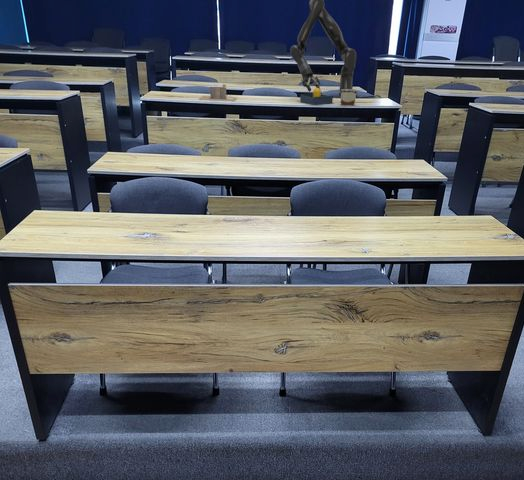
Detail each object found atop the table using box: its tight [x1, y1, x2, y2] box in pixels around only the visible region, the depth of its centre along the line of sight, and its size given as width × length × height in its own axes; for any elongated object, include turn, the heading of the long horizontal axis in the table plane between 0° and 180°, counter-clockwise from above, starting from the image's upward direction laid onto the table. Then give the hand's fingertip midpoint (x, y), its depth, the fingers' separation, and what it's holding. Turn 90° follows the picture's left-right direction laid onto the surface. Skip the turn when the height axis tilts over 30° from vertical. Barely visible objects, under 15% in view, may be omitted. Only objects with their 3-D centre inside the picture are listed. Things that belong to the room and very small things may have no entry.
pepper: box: [312, 86, 322, 98], centre depth 377 cm, size 6×6×11 cm
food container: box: [340, 88, 358, 107], centre depth 372 cm, size 12×6×10 cm, turn 84°
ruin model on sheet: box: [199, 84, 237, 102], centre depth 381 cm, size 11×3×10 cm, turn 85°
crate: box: [299, 92, 334, 106], centre depth 378 cm, size 18×16×5 cm
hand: (314, 90), depth 377 cm, fingers open, 8 cm apart
